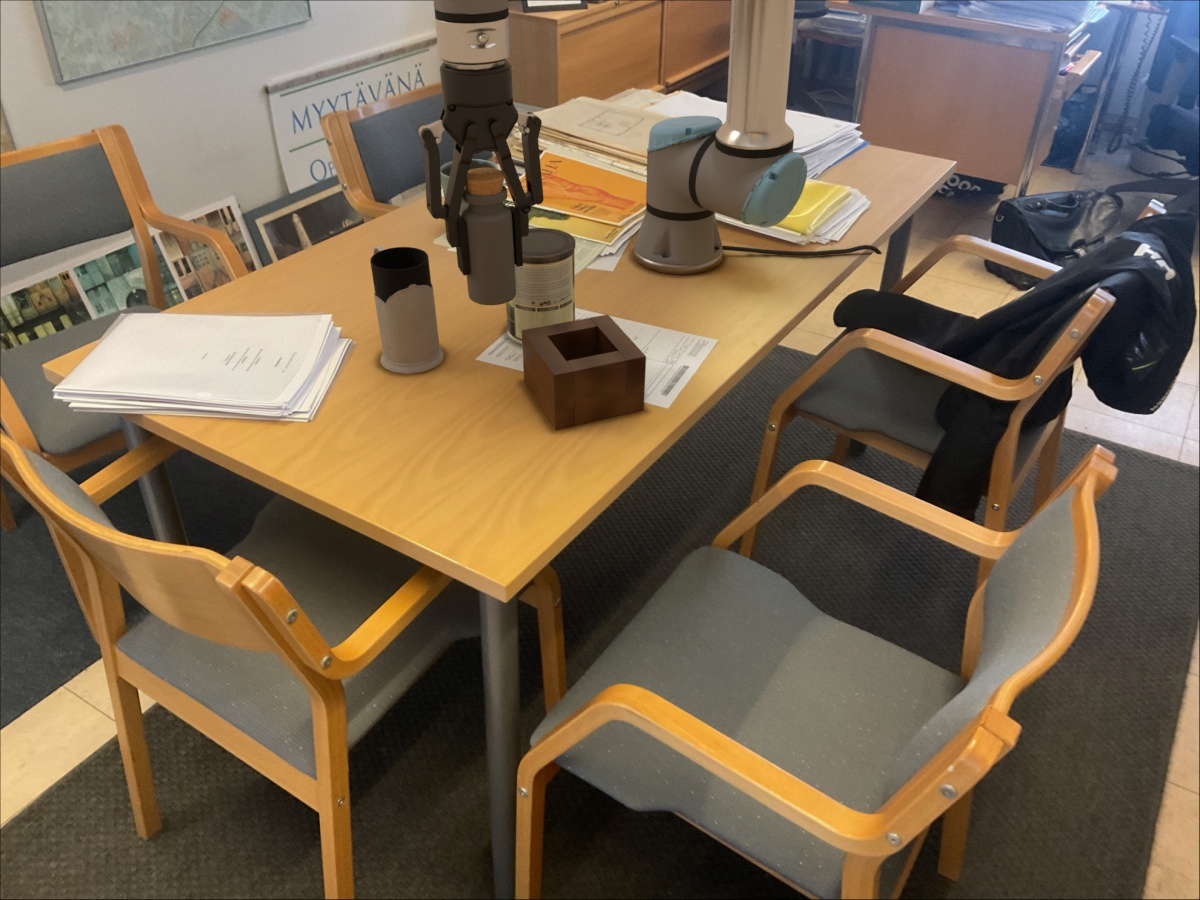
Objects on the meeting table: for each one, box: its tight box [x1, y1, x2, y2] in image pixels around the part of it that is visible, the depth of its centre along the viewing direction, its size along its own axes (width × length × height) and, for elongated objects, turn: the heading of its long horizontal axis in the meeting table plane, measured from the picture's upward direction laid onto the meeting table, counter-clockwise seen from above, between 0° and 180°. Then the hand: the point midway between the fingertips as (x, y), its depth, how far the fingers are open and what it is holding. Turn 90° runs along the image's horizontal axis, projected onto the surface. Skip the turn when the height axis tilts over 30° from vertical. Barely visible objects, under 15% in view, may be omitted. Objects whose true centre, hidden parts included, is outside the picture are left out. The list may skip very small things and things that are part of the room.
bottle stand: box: [521, 314, 647, 431], centre depth 116 cm, size 12×12×8 cm
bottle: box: [461, 168, 516, 306], centre depth 106 cm, size 6×6×15 cm
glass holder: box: [369, 245, 445, 375], centre depth 124 cm, size 9×14×15 cm, turn 32°
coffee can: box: [505, 227, 577, 346], centre depth 129 cm, size 10×10×14 cm
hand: (490, 265), depth 108 cm, fingers closed on bottle, 6 cm apart
